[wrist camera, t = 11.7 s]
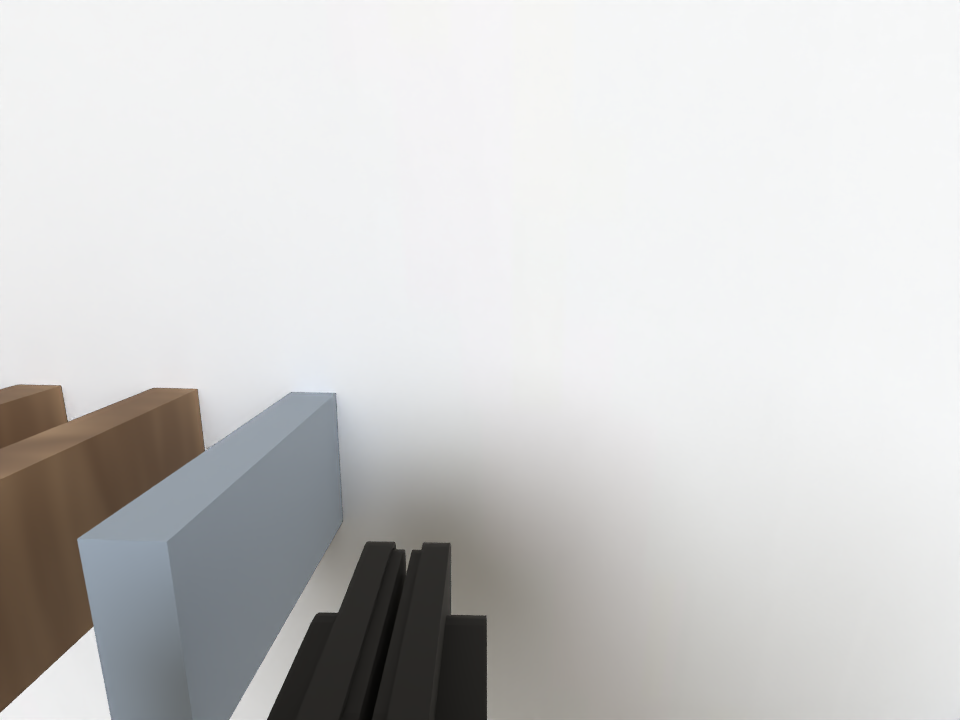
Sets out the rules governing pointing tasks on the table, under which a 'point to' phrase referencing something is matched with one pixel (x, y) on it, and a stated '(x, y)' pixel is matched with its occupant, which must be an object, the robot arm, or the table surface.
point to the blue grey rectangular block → (213, 563)
